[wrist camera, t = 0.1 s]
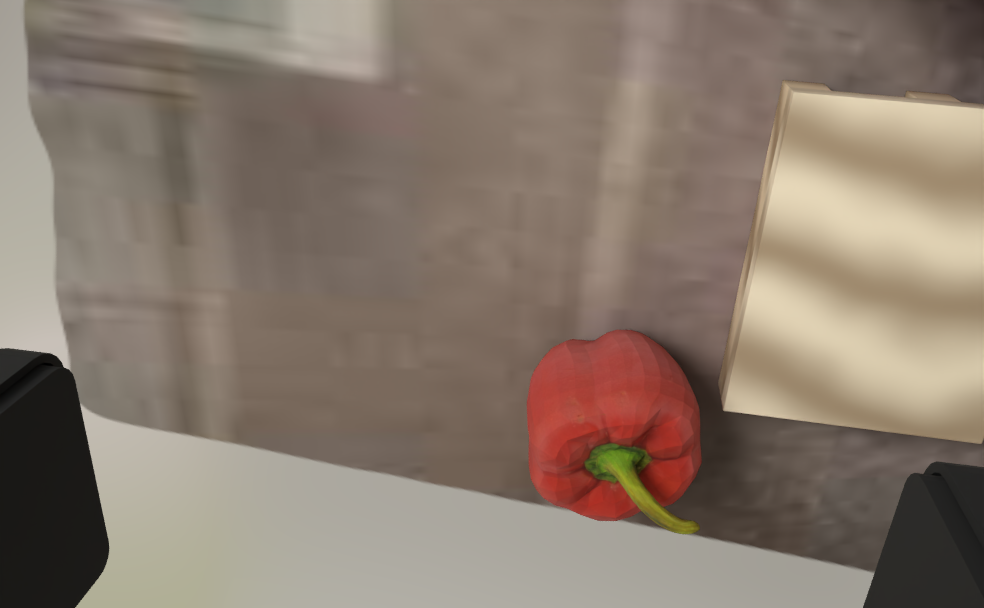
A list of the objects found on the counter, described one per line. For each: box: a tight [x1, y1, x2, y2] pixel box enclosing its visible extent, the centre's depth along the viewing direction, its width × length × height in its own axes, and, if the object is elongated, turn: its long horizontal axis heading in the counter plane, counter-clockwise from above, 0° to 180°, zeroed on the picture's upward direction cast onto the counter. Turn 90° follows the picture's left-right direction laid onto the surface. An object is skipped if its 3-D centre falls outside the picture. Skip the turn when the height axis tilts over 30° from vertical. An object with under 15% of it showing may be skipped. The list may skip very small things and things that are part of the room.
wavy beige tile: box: [718, 80, 984, 444], centre depth 43 cm, size 18×14×3 cm
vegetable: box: [527, 330, 702, 534], centre depth 46 cm, size 11×10×10 cm
